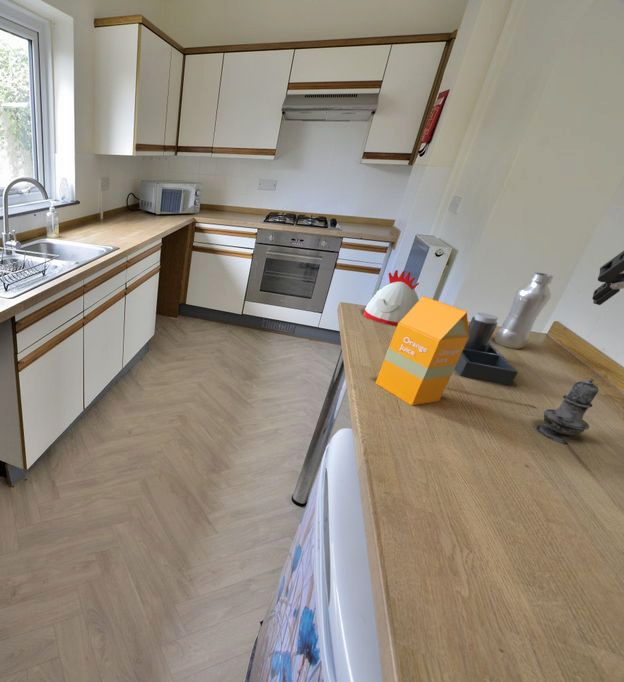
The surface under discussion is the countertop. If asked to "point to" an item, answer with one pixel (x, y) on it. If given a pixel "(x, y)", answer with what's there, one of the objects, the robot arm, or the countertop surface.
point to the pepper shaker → (480, 331)
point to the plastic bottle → (524, 312)
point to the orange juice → (424, 351)
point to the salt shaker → (569, 413)
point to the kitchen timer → (393, 300)
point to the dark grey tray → (486, 366)
